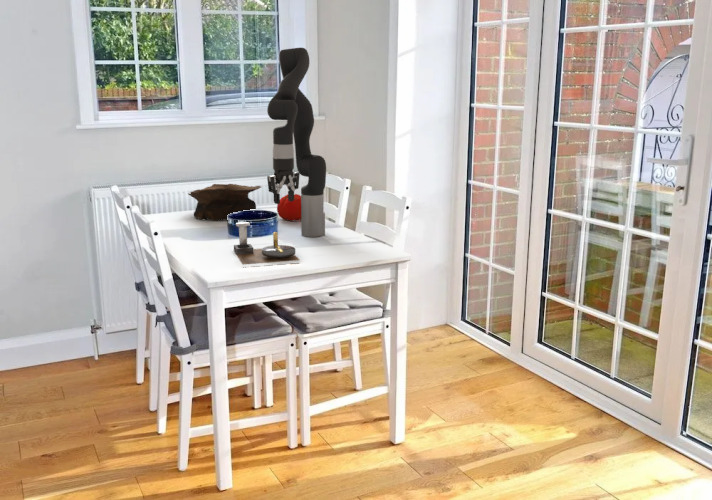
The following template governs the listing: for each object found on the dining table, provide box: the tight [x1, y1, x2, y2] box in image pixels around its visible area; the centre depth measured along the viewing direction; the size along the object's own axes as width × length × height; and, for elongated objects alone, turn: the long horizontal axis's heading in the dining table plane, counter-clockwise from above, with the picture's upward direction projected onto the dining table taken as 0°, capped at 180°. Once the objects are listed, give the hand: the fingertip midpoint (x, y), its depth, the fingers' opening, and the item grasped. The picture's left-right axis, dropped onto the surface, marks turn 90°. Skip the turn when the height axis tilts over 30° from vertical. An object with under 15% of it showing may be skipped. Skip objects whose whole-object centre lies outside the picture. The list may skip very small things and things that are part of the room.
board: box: [233, 243, 300, 268], centre depth 257 cm, size 20×20×3 cm
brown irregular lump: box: [187, 183, 263, 221], centre depth 331 cm, size 34×33×15 cm
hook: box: [235, 221, 251, 248], centre depth 259 cm, size 5×3×11 cm, turn 109°
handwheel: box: [261, 231, 296, 258], centre depth 254 cm, size 12×12×6 cm
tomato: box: [276, 193, 301, 222], centre depth 321 cm, size 13×14×12 cm
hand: (284, 202), depth 258 cm, fingers open, 6 cm apart
